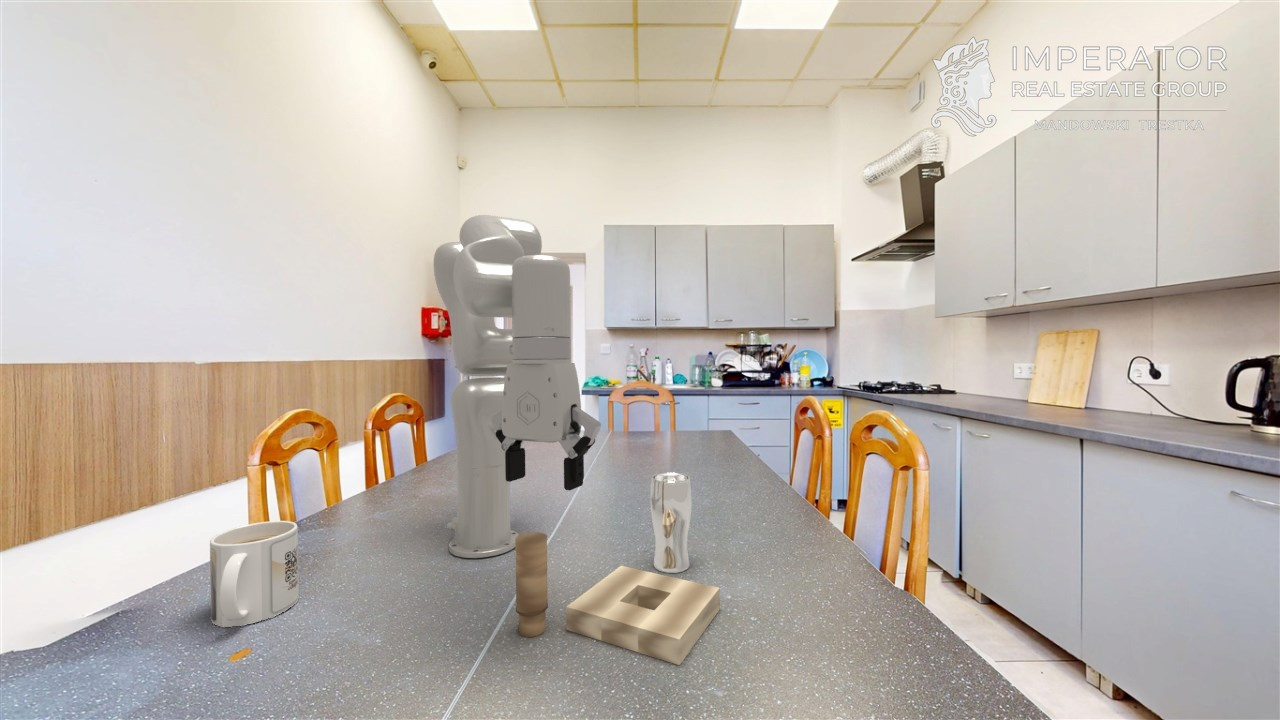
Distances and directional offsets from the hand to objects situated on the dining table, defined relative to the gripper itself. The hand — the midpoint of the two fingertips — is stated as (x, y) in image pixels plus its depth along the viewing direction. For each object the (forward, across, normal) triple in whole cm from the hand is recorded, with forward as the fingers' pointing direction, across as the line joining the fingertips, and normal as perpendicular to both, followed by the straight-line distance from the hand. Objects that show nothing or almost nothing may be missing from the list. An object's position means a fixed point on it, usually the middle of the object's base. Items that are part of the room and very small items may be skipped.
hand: (543, 483), depth 64 cm
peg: (+19, -1, -1) cm, 19 cm away
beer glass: (+19, +6, +25) cm, 32 cm away
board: (+19, +11, +8) cm, 23 cm away
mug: (+19, -39, -16) cm, 47 cm away
